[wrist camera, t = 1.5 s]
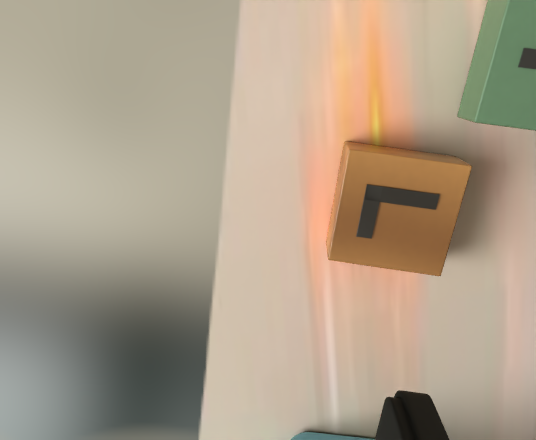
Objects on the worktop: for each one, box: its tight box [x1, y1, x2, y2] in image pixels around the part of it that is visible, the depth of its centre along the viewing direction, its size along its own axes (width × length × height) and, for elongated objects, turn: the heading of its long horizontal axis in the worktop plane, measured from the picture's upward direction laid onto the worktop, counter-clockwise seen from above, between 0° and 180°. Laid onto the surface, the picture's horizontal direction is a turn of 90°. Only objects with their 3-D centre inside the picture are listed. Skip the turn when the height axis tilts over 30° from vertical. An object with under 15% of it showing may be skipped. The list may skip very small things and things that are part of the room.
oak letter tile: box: [326, 141, 472, 276], centre depth 23 cm, size 6×6×3 cm
